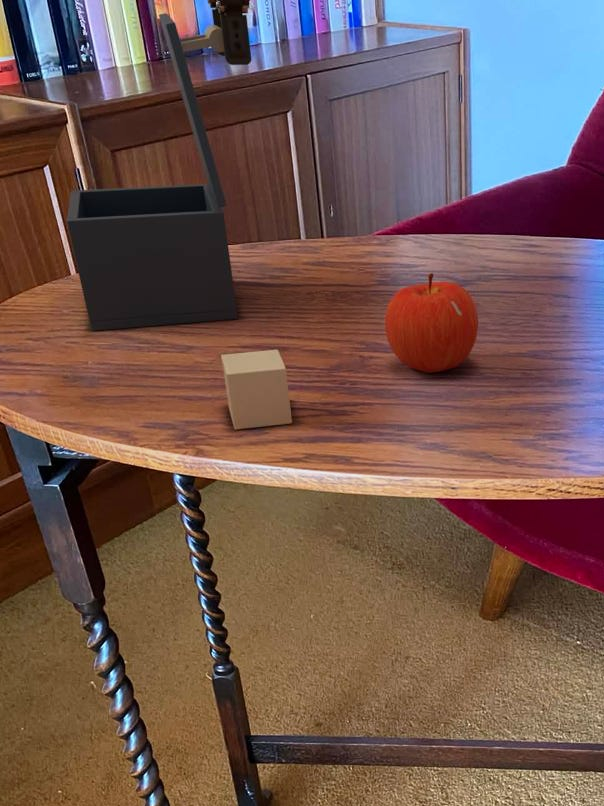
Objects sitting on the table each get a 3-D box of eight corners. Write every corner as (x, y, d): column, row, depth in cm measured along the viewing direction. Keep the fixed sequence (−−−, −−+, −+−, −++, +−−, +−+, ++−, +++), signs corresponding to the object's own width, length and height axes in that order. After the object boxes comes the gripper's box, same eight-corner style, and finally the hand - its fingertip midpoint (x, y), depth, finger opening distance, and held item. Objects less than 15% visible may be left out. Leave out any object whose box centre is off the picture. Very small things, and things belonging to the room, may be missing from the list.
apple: (496, 369, 85) (498, 275, 80) (422, 389, 80) (419, 292, 76) (442, 344, 90) (441, 255, 85) (369, 363, 86) (364, 269, 81)
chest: (91, 331, 92) (66, 220, 86) (93, 290, 102) (71, 190, 97) (238, 318, 95) (223, 212, 89) (225, 281, 106) (211, 183, 100)
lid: (165, 24, 80) (226, 12, 81) (158, 14, 91) (212, 4, 92) (218, 207, 89) (273, 195, 90) (206, 179, 100) (255, 169, 101)
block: (234, 430, 73) (226, 374, 71) (229, 408, 77) (220, 354, 74) (292, 423, 75) (286, 368, 72) (284, 402, 78) (278, 349, 75)
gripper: (156, -163, 84) (187, 53, 93) (163, -179, 73) (198, 68, 82) (243, -160, 86) (265, 52, 95) (263, -175, 75) (285, 66, 84)
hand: (234, 59), depth 89 cm, fingers open, 8 cm apart
